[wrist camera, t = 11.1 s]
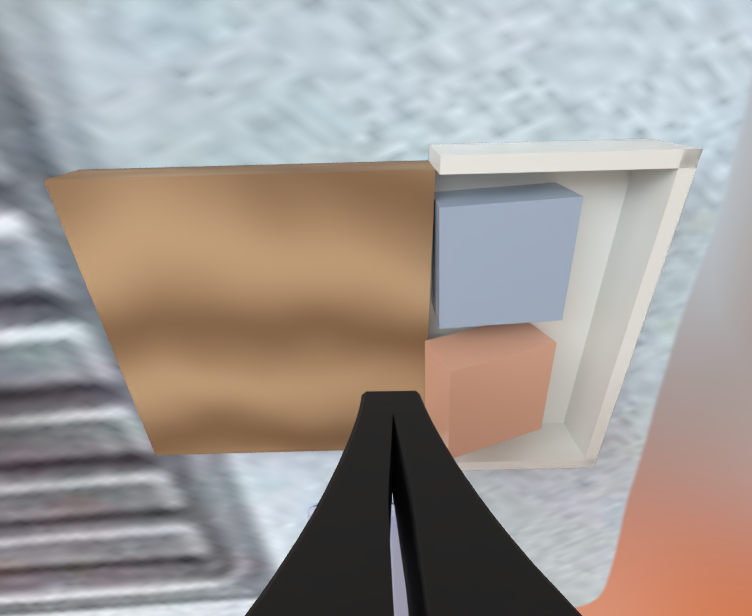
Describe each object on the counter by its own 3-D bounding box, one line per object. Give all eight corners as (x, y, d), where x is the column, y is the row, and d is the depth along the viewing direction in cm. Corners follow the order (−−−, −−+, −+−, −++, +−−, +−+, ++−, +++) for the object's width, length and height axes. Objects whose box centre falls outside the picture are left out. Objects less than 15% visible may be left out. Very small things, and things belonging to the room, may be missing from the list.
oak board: (418, 420, 23) (422, 448, 21) (172, 426, 23) (155, 455, 21) (428, 160, 16) (435, 169, 14) (79, 169, 16) (43, 179, 14)
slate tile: (540, 293, 19) (562, 320, 16) (431, 301, 19) (439, 328, 17) (555, 182, 16) (583, 196, 14) (430, 192, 16) (439, 207, 14)
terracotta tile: (511, 397, 21) (541, 428, 19) (425, 423, 20) (447, 460, 18) (521, 316, 19) (556, 342, 17) (424, 340, 18) (450, 371, 16)
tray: (568, 424, 23) (593, 467, 21) (418, 427, 23) (424, 471, 21) (648, 138, 16) (703, 148, 13) (429, 144, 16) (440, 155, 13)
